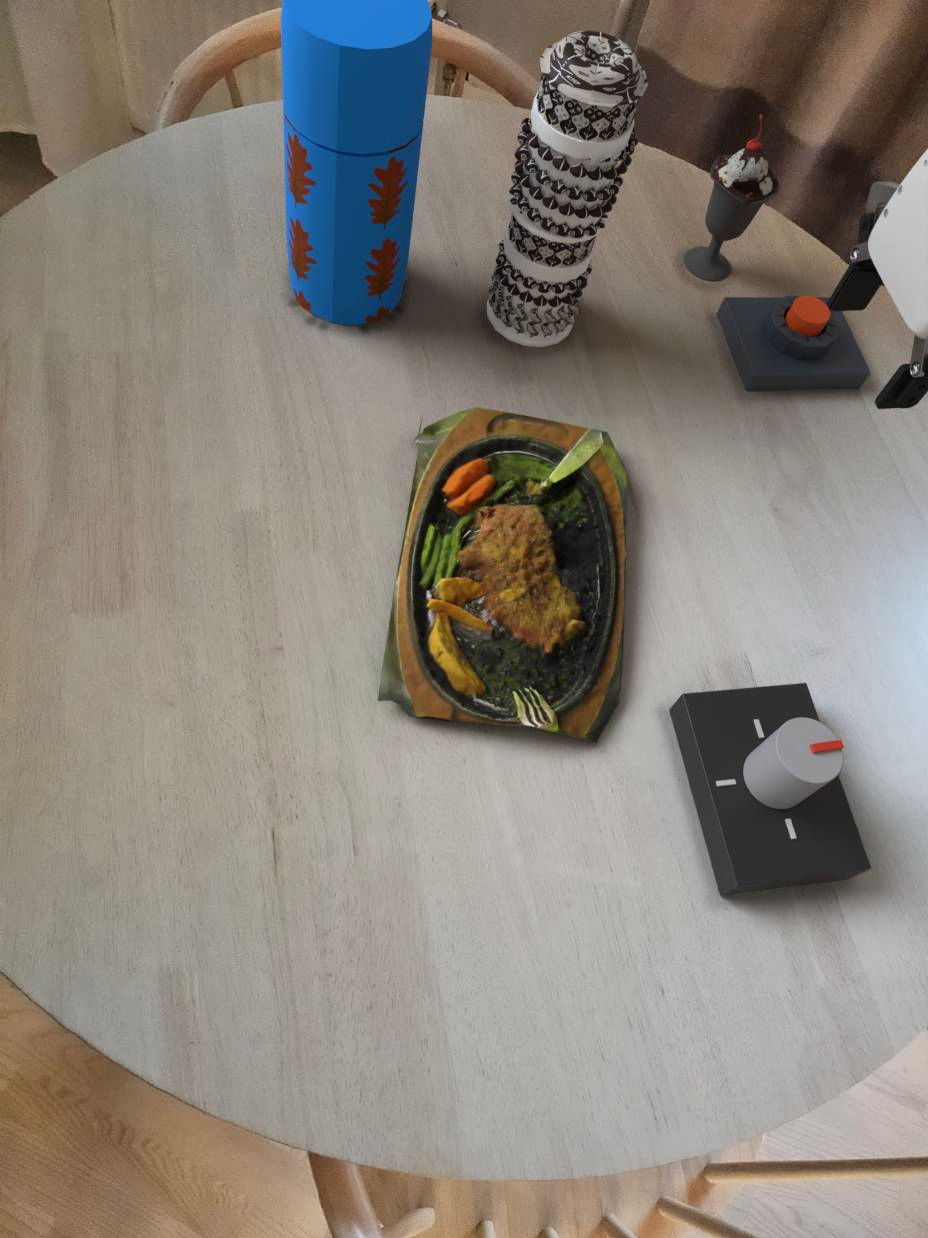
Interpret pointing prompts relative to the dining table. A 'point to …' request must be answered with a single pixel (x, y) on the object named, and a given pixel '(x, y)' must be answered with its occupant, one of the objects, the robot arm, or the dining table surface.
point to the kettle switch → (808, 316)
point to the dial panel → (740, 824)
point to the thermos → (352, 149)
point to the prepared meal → (511, 576)
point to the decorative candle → (564, 184)
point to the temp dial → (793, 763)
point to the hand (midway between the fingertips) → (868, 354)
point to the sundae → (732, 205)
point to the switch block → (789, 347)
